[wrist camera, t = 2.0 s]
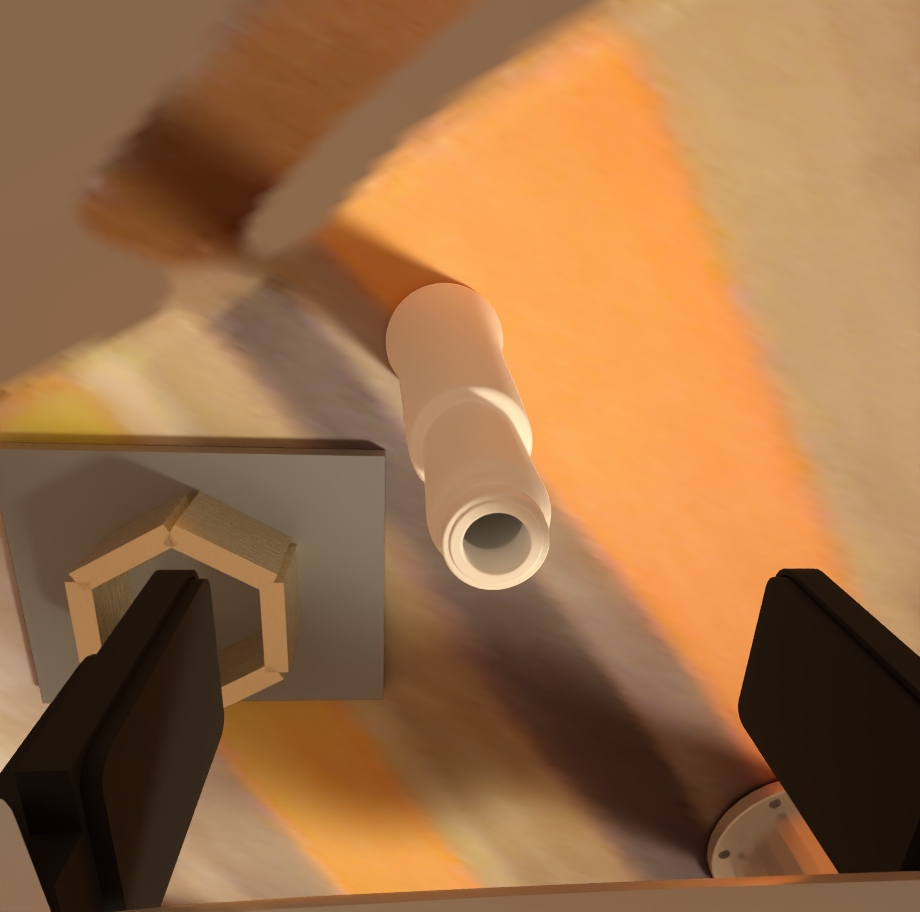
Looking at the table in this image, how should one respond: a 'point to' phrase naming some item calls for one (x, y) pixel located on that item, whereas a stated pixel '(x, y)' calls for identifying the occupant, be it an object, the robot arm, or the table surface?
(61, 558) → the slate board
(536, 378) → the table surface
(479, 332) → the cosmetic bottle
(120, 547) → the wooden hex collar
